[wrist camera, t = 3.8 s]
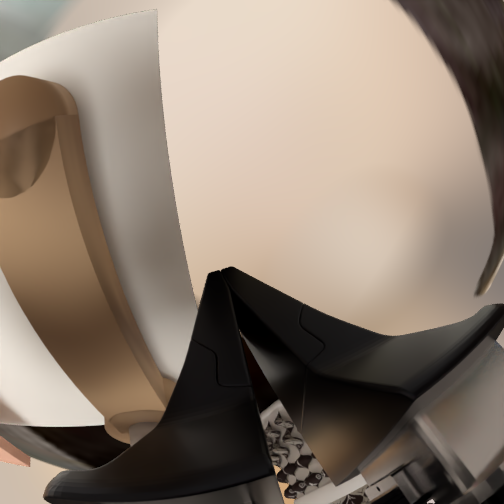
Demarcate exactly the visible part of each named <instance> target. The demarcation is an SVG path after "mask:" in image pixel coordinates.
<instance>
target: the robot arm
mask: <svg viewBox="0 0 504 504" xmlns="http://www.w3.org/2000/svg"><path fill="white" fill-rule="evenodd" d="M503 328H504V304H492V305H488V306H484V307H483V308H482V309H480V310H479V311H478V312H477V313H476V314H475V315H474V316H472V317H470V318H468V319H466V320H463V321H461V322H458V323H455V324H451V325H447V326H443V327H438V328H434V329H430V330H425V331H420V332H415V333H410V334H406V335H400V336H387V335H382V334H379V333H375V332H373V331H370V330H367V329H364V328H361V327H359V326H356V325H353V324H350V323H347V322H345V321H342V320H339V319H337V318H334V317H332V316H329V315H327V314H325V313H323V312H320V311H318V310H316V309H314V308H312V307H310V306H308V305H306V304H303V303H302V302H300V301H298V300H296V299H294V298H292V297H290V296H288V295H286V294H284V293H282V292H281V291H279V290H277V289H275V288H273V287H271V286H269V285H267V284H265V283H263V282H261V281H259V280H257V279H256V278H254V277H252V276H250V275H248V274H246V273H244V272H242V271H240V270H238V269H236V268H235V267H228V268H225V269H222V270H221V271H219V270H217V271H214V272H211V273H209V274H208V276H207V279H206V283H205V287H204V290H203V294H202V298H201V301H200V305H199V309H198V313H197V316H196V320H195V324H194V328H193V332H192V336H191V341H190V343H189V347H188V351H187V355H186V358H185V361H184V364H183V367H182V370H181V372H180V375H179V378H178V380H177V383H176V385H175V387H174V390H173V392H172V395H171V397H170V400H169V402H168V405H167V407H166V409H165V412H164V414H163V416H162V418H161V420H160V421H159V423H158V424H157V425H156V427H155V428H154V429H153V430H152V431H150V432H149V433H148V434H147V435H145V436H144V437H143V438H141V439H140V440H139V441H138V442H136V443H135V444H134V445H132V446H131V447H130V448H128V449H127V450H126V451H124V452H123V453H122V454H120V455H119V456H118V457H116V458H115V459H114V460H112V461H111V462H109V463H107V464H106V465H103V466H101V467H99V468H95V469H92V470H84V471H82V470H66V471H62V472H60V473H59V474H58V475H57V476H56V477H54V478H53V479H52V480H51V481H50V483H49V484H48V485H47V487H46V489H45V492H44V495H43V498H44V500H46V501H47V502H49V503H51V504H284V500H283V497H282V494H281V491H280V487H279V484H278V480H277V477H276V473H275V470H274V466H273V462H272V459H271V455H270V451H269V448H268V444H267V440H266V436H265V433H264V429H263V425H262V421H261V417H260V413H259V410H258V406H257V402H256V398H255V394H254V390H253V386H252V381H251V377H250V373H249V369H248V365H247V361H246V356H245V352H244V348H243V344H242V339H241V335H240V332H241V334H242V336H243V338H244V339H245V341H246V343H247V345H248V347H249V348H250V350H251V352H252V354H253V356H254V357H255V359H256V361H257V363H258V364H259V366H260V368H261V369H262V371H263V373H264V375H265V376H266V378H267V380H268V381H269V383H270V385H271V387H272V388H273V390H274V392H275V393H276V395H277V397H278V398H279V400H280V402H281V403H282V405H283V407H284V408H285V410H286V411H287V413H288V415H289V416H290V418H291V420H292V421H293V423H294V424H295V426H296V428H297V429H298V431H299V432H300V434H301V435H302V437H303V439H304V440H305V442H306V443H307V445H308V446H309V448H310V450H311V451H312V453H313V454H314V456H315V457H316V459H317V460H318V462H319V463H320V465H321V466H322V468H323V469H324V471H325V472H326V474H327V475H328V476H329V478H330V479H331V481H332V482H333V484H334V485H335V486H339V485H341V484H343V483H345V482H347V481H348V480H350V479H352V478H354V477H356V476H358V475H360V474H361V475H362V477H363V478H364V480H365V481H366V483H367V484H368V486H369V488H367V489H366V490H364V491H365V493H366V495H367V496H368V498H369V500H370V501H369V502H367V503H365V504H427V502H428V501H429V500H431V499H433V500H434V502H435V503H434V504H504V348H503V347H502V346H501V345H500V344H499V343H498V342H497V341H496V339H497V338H498V336H499V335H500V333H501V331H502V330H503ZM239 330H240V331H239Z"/></svg>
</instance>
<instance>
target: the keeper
mask: <svg viewBox="0 0 504 504" xmlns="http://www.w3.org/2000/svg"><path fill="white" fill-rule="evenodd" d="M0 461H3V462H7V463H12V464H17V465H22V466H28V467H30V457H29V456H28V455H26V454H25V453H23V452H22V451H20V450H19V449H17V448H16V447H15V446H13V445H12V444H10V443H9V442H8V441H6V440H5V439H4V438H3V437H1V436H0Z"/></svg>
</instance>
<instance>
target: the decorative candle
mask: <svg viewBox="0 0 504 504" xmlns="http://www.w3.org/2000/svg"><path fill="white" fill-rule="evenodd" d="M260 417H261V421H262V425H263V429H264V433H265V436H266V440H267V444H268V448H269V451H270V455H271V459H272V462H273V465H276V466H278V467H281V468H282V469H281V470H280V471H279V472H278V474H277V480H278V481H279V482H282V483H289V486H288V488H287V489H286V490H285V491H284V496H285V497H286V498H292V499H295V500H294V504H365V503H367V502H369V501H370V500H369V498H368V496H367V495H366V493H365V491H364V490H366V489H367V488H369V486H368V484H367V483H366V481H365V480H364V478H363V477H362V475H361V474H360V475H358V476H356V477H354V478H352V479H350V480H348V481H347V482H345V483H343V484H341V485H339V486H335V485H334V484H333V482H332V481H331V479H330V478H329V476H328V475H327V474H326V472H325V471H324V469H323V468H322V466H321V465H320V463H319V462H318V460H317V459H316V457H315V456H314V454H313V453H312V451H311V450H310V448H309V446H308V445H307V443H306V442H305V440H304V439H303V437H302V435H301V434H300V432H299V431H298V429H297V428H296V426H295V424H294V423H293V421H292V420H291V418H290V416H289V415H288V413H287V411H286V410H285V408H284V407H283V405H282V403H281V402H280V400H277V401H275V402H274V403H273V404H271V405H270V406H269V407H268V408H267V409H265V410H264V411H263V412H262V413H261V414H260ZM428 504H433V503H428Z"/></svg>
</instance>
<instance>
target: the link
mask: <svg viewBox="0 0 504 504" xmlns="http://www.w3.org/2000/svg"><path fill="white" fill-rule="evenodd" d="M0 268H1V270H2V272H3V274H4V276H5V278H6V280H7V282H8V284H9V286H10V288H11V290H12V292H13V294H14V296H15V298H16V300H17V302H18V303H19V305H20V307H21V309H22V310H23V312H24V314H25V316H26V317H27V319H28V321H29V322H30V324H31V325H32V327H33V329H34V330H35V332H36V333H37V335H38V336H39V338H40V339H41V341H42V342H43V344H44V345H45V347H46V348H47V350H48V351H49V352H50V354H51V355H52V356H53V358H54V359H55V361H56V362H57V363H58V365H59V366H60V367H61V368H62V370H63V371H64V372H65V374H66V375H67V376H68V377H69V379H70V380H71V381H72V382H73V383H74V385H75V386H76V387H77V388H78V389H79V390H80V392H81V393H82V394H83V395H84V396H85V397H86V398H87V399H88V401H89V402H90V403H91V404H92V405H93V406H94V407H95V408H96V409H97V410H98V411H99V412H100V413H101V414H102V415H103V416H104V421H105V430H106V431H107V433H108V434H109V435H111V436H112V437H113V438H115V439H117V440H119V441H122V442H125V443H128V444H130V445H131V446H132V445H134V444H135V443H136V442H138V441H139V440H140V439H141V438H143V437H144V436H145V435H147V434H148V433H149V432H150V431H152V430H153V429H154V428H155V427H156V425H157V424H158V423H159V421H160V420H161V418H162V416H163V414H164V412H165V409H166V407H167V405H168V402H169V400H170V397H171V395H172V392H173V390H174V387H175V385H176V383H175V382H174V381H172V380H170V379H167V378H164V377H162V376H161V374H160V372H159V370H158V368H157V366H156V364H155V362H154V360H153V358H152V356H151V354H150V352H149V350H148V348H147V345H146V343H145V341H144V339H143V337H142V335H141V332H140V330H139V328H138V326H137V323H136V321H135V319H134V316H133V314H132V312H131V309H130V307H129V304H128V302H127V299H126V297H125V294H124V292H123V289H122V286H121V284H120V281H119V278H118V276H117V273H116V270H115V267H114V264H113V261H112V258H111V255H110V252H109V249H108V246H107V243H106V240H105V236H104V233H103V230H102V226H101V223H100V219H99V216H98V212H97V208H96V204H95V200H94V196H93V192H92V188H91V183H90V179H89V174H88V169H87V164H86V159H85V154H84V148H83V142H82V136H81V129H80V122H79V114H78V109H77V105H76V102H75V100H74V98H73V96H72V95H71V93H70V92H69V91H68V90H67V89H66V88H65V87H63V86H62V85H60V84H58V83H55V82H51V81H47V80H43V79H39V78H34V77H30V76H25V75H15V76H10V77H7V78H5V79H2V80H0Z"/></svg>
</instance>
